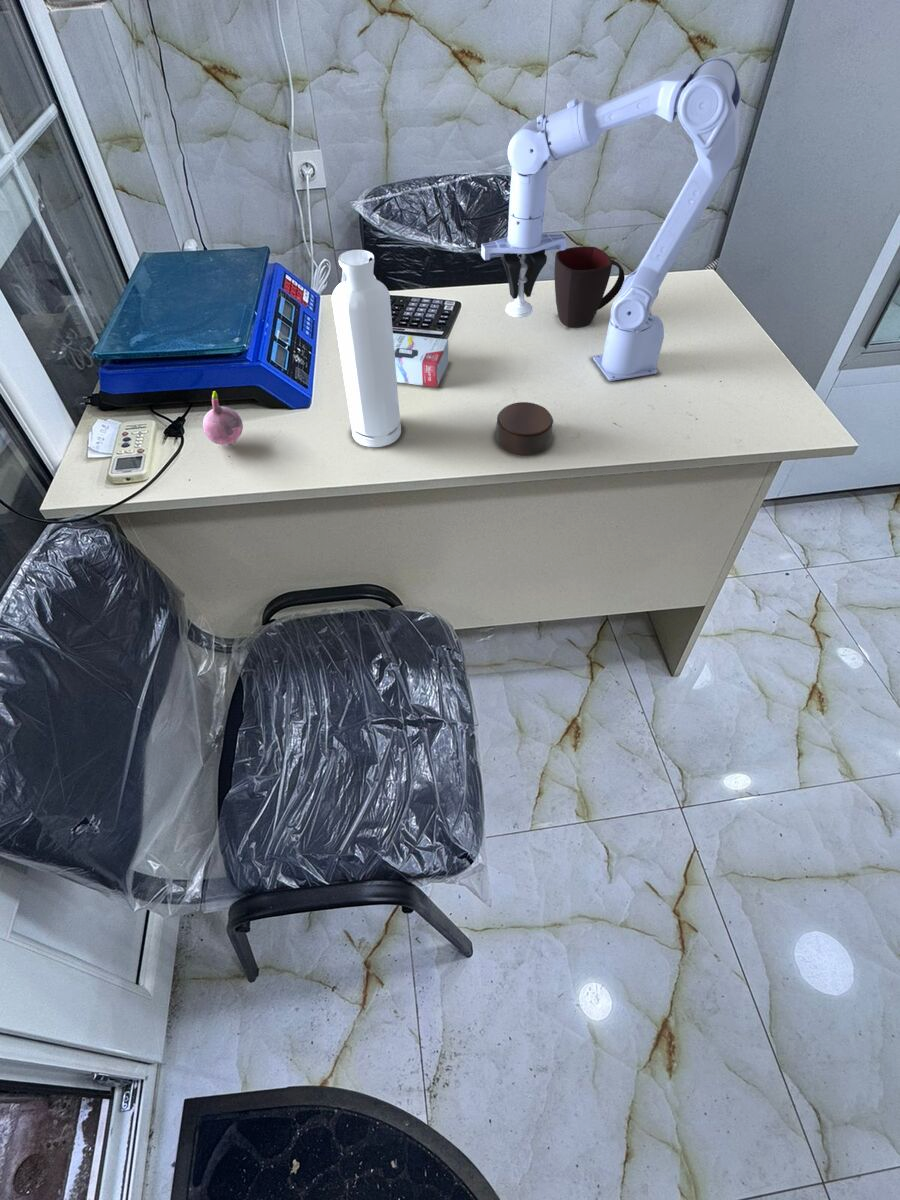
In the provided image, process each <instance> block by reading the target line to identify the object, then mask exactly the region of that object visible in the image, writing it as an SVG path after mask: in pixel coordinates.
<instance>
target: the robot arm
mask: <svg viewBox="0 0 900 1200" xmlns="http://www.w3.org/2000/svg"><path fill="white" fill-rule="evenodd" d="M697 65H698V63H693V64H688V65H685V66H683V67H680V68H678V69H675V70H673V71H670V72H667V73H665V74H663V75H660V76H658V77H656V78H654V79H652V80H650V81H648V82H646V83H643V84H641V85H639V86H637V87H635V88H633V89H630V90H628V91H626V92H624V93H622V94H619V95H618V96H616V97H614V98H611V99H609V100H608V101H605V102H602V103H601V104H596V103H594V102H592V101H591V100H588V99H583V100H581V101H579V98H578V97H575V98H573V99H570V100H569V101H568V102H567V104H566V107H565V108H562V109H560V110H558V111H556V112H553V113H551V114H549V115H546V113H541V114H539V115H537V117H536V119H532V120H529V121H527V122H526V123H525V124H524V125H523V126H522V127H521V128H520V129H519V130H518V131H517V132H516V133H515V134H514V135H513V136H512V137H511V139H510V141H509V143H508V147H507V159H508V163H509V164H510V166H511V174H510V175H511V176H510V183H509V184H510V186H509V187H510V188H509V201H508V203H509V204H508V225H507V236H505V237H502V238H499V239H496V240H493V241H488V242H483V243H481V244H480V246H481V249H480V250H481V251H480V256H481V258H482V259H483V260H484V261H490V260H491V259H492V258H493V259H494V258H500V259H501V261H502V265H503V267H504V270H505V273H506V277H507V282H508V287H509V295H510V297H511V298H512V299H513V300H515V299H517V295H518V279H519V273H520V269H521V262H520V257H519V256H518V255H522V254H525V256H526V259H525V260H524V263H525V264H527V265H528V269H527V271H526V274H525V276H524V277H526V278H527V282H526V283H524V296H526V298H530V297H531V296H532V294H533V293H532V292H533V290H534V286H535V284H536V281H537V279H538V277H539V275H540V273H541V272H542V270H543V269H544V267H545V265H546V264H547V262H548V261H547V260H548V256H547V255H546V252H547V251H554V250H558V251H562V250H565V249H567V241H568V238H567V237H566V236H565V234H563V233H543V230H544V229H543V227H544V218H545V217H544V216H545V205H546V196H547V195H546V194H547V184H548V179H547V178H548V167H549V162H557V161H558V160H562V159H564V158H567V157H569V156H571V155H574V154H577V153H580V152H582V151H585V150H587V149H590V148H593V147H595V146H596V144H597V142H598V140H599V138H600V137H601V133H603V132H604V133H605V132H606V131H609V130H612V129H615V128H618V127H621V126H625V125H626V124H630V123H632V122H635V121H636V122H637V121H638V120H642V119H644V118H647V117H651V116H652V115H653V116H654V115H656V116H658V117H660V118H662V119H663V120H665V121H667V122H669V123H674V121H675V119H676V117H678V121H679V122H680V125H681V126H682V128H683V129H684V131H685V132H686V133H687V135H688V136H689V137H690V139H691V140H692V142H693V147H694V149H695V153H696V158H697V162H696V163H695V165H694V167H693V169H692V170H691V172H690V174H689V176H688V177H687V179H686V181H685V183H684V185H683V187H682V188H681V190H680V192H679V194H678V195H677V197H676V199H675V201H674V203H673V204H672V206H671V208H670V210H669V211H668V213H667V215H666V217H665V219H664V221H663V223H662V224H661V226H660V228H659V230H658V231H657V233H656V235H655V237H654V238H653V240H652V242H651V244H650V246H649V247H648V249H647V250H646V252H645V255H644V256H643V258H642V259H641V261H640V262H639V264H638V265H637V268H635V270H634V271H632V272H631V273H629V274H628V275H627V276H625V278H624V282H623V285H622V287H621V289H620V291H619V292H618V294H617V295H616V296H617V297H616V298H615V299H614V301H613V303H612V304H611V308H610V316H609V321H608V326H607V330H606V331H607V332H606V337H605V342H604V347H603V352H602V353H601V354H596V355H593V356H592V360H593V361H594V363H595V364H596V366H597V367H598V368H599V369H600V370H601V372H602V373H603V375H604V376H605V377H606V379H607V380H608V381H609V382H613V381H619V380H625V379H632V378H637V377H643V376H645V377H646V376H650V375H656V374H657V373H658V369H657V364H658V361H659V357H660V354H661V350H662V346H663V343H664V340H665V339H664V338H665V328H664V323H663V320H662V319H661V317H660V316H658V315H657V314H656V315H654V314H653V315H652V311H651V310H652V308H653V306H654V303H655V301H656V299H657V297H658V295H659V291H660V287H661V286H662V284H663V281H664V280H665V278H666V276H667V274H668V273H669V271H670V270H671V268H672V266H673V265H674V263H675V261H676V259H677V258H678V256H679V254H680V252H681V251H682V249H683V247H684V246H685V245H686V243H687V241H688V239H689V238H690V236H691V235H692V233H693V232H694V229H695V228H696V226H697V225H698V223H699V221H700V219H701V218H702V216H703V214H704V213H705V211H707V210H706V209H707V208H708V207H709V205H710V203H711V201H712V199H713V198H714V197H715V194H716V193H717V191H718V190H719V187H720V186H721V185H722V183H723V181H724V180H725V178H726V177H727V174H729V171H730V170H731V168H732V166H733V165H734V162H735V160H736V157H737V154H738V152H739V142H740V115H741V101H742V87H741V84H740V82H739V77H738V73H737V70H736V68H735V66H734V64H733V63H732V62H731V61H730V60H728V59H726V58H724V57H721V56H719V57H718V56H716V57H711V58H708V59H706V60H704V61H703V62H701V63H700V64H699V65H698V66H697ZM696 66H697V67H696ZM695 68H696V69H695Z"/></svg>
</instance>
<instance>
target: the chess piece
mask: <svg viewBox="0 0 900 1200" xmlns="http://www.w3.org/2000/svg"><path fill="white" fill-rule="evenodd" d="M525 259H526V256H525V254H521V257H520V258H519V262H520V263H521V269H520V273H519V279H518V295H517V299H513V300H512V301H510V302H508V303H507V304H506V306H505V313H506V314H507V315H508V316H510V317H513V318H527V317H529V316H531V315H532V313H534V312H533V311H534V310H533V305H532V304H531V303H530V302H528V301H526V300H525V293H524V283H526V282H527V278H526V277H524V276H525V274H526V271H527V269H528V265H527V264H525Z"/></svg>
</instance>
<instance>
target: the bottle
mask: <svg viewBox="0 0 900 1200" xmlns="http://www.w3.org/2000/svg"><path fill="white" fill-rule="evenodd" d="M337 258H338V259H337V260H338V265H339V266H340V268H341V269H342V271H341V282H339V283H338V284H337V285H336V287H335V288H334V290H333V291H332V295H331V304H332V308H333V309H332V310H333V316H334V324H335V330H336V336H337V341H338V342H337V343H338V349H339V356H340V362H341V367H342V368H341V369H342V375H343V382H344V387H345V394H346V400H347V401H346V402H347V407H348V413H349V420H350V424H351V425H350V426H351V433H352V437H353V439H354V440H355V442H356V443H358V444H359V445H361V446H365V447H368V448H382V447H386V446H389V445H392V444H393V443H394V442H396V441H397V440H398V439H399V438H400V437H401V433H402V429H401V428H402V426H401V414H400V401H399V391H398V382H397V377H396V365H395V353H394V340H393V333H394V329H393V319H392V305H391V295H390V291H389V289H388V288H387V286H386V285H385V284H384V283H383V282H382V281H380V280H379V279H377V277H376V275H375V274H374V268H375V255H374V254H373V252H371V251H369V250H366V249H350V250H346V251H344V252H342V253H341V254H339V256H338V257H337ZM370 259H371V260H370Z"/></svg>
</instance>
